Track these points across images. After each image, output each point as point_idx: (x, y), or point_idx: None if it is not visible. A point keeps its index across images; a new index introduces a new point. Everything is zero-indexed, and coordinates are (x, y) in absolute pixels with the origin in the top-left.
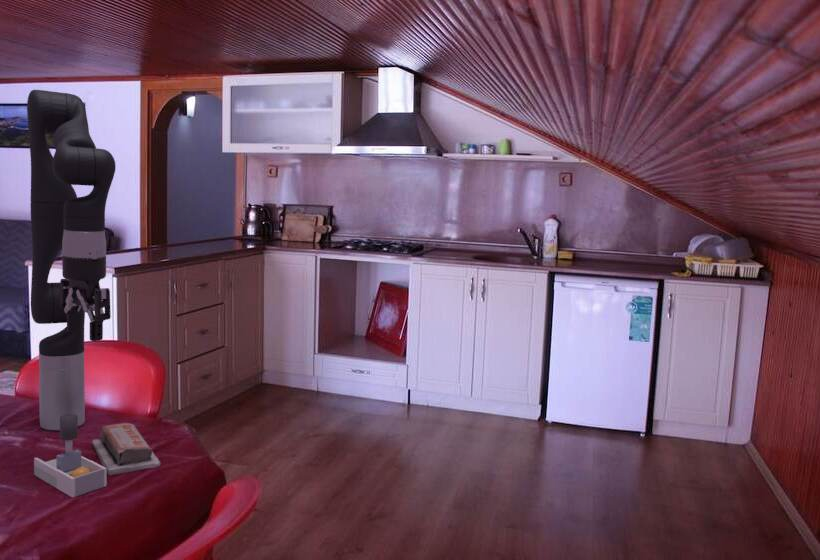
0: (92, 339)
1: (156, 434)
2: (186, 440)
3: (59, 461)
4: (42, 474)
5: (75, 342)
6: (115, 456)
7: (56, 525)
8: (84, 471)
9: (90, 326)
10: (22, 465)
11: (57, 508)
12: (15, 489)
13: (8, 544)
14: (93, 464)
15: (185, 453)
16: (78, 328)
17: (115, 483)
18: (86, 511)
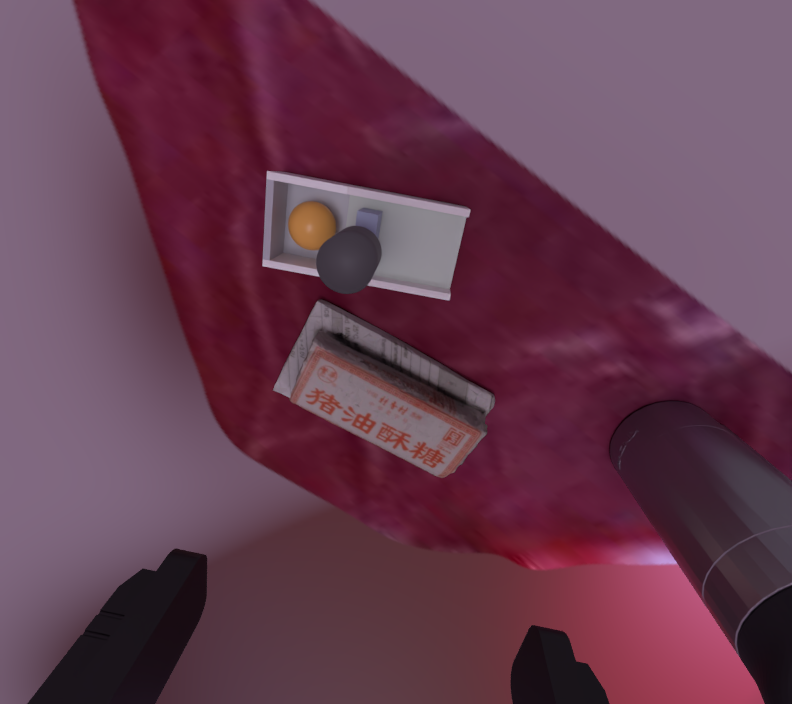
0: (170, 560)
1: (420, 494)
2: (342, 498)
3: (362, 210)
4: (424, 199)
5: (776, 681)
6: (347, 348)
7: (182, 48)
8: (293, 226)
9: (102, 677)
10: (541, 229)
11: (260, 112)
12: (433, 123)
13: None
14: (312, 267)
15: (289, 453)
16: (516, 693)
17: (274, 277)
18: (197, 141)
